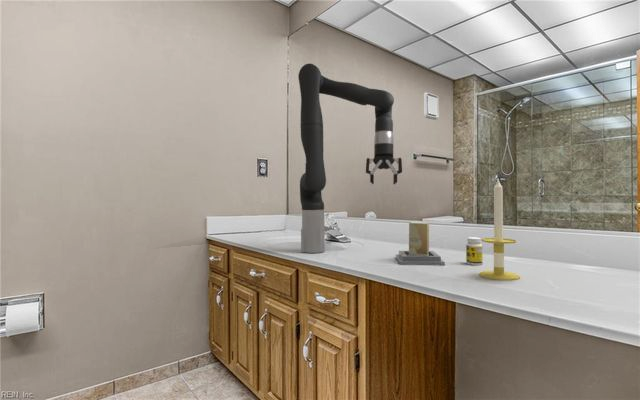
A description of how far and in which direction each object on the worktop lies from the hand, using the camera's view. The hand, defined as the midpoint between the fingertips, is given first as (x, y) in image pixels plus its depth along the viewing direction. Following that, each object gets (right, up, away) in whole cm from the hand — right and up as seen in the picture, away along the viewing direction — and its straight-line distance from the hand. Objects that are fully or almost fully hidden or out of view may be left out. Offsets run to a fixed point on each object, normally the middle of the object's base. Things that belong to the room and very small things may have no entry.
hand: (383, 184), depth 134 cm
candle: (+24, -27, -42) cm, 56 cm away
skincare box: (+9, -26, -19) cm, 34 cm away
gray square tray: (+8, -27, -19) cm, 34 cm away
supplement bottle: (+25, -27, -25) cm, 45 cm away
